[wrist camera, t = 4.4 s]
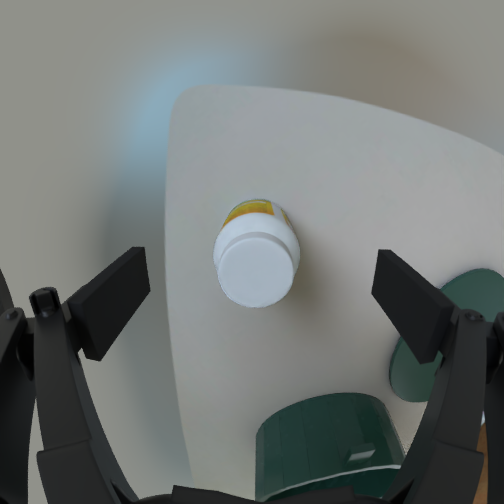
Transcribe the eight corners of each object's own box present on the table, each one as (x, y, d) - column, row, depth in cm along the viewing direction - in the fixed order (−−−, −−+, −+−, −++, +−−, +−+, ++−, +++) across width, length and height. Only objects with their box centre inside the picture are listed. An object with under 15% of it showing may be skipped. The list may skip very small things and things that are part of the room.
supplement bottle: (301, 220, 23) (329, 262, 14) (265, 270, 25) (270, 334, 16) (247, 184, 22) (241, 203, 13) (213, 237, 24) (187, 288, 15)
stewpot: (255, 471, 37) (254, 524, 27) (257, 381, 29) (256, 468, 18) (361, 461, 37) (374, 509, 26) (411, 368, 29) (448, 433, 18)
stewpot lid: (369, 407, 31) (389, 466, 22) (413, 268, 24) (472, 320, 15) (473, 381, 31) (501, 420, 21) (520, 264, 24) (567, 295, 15)
